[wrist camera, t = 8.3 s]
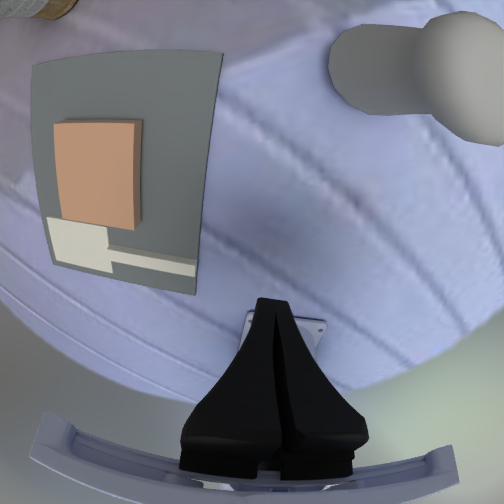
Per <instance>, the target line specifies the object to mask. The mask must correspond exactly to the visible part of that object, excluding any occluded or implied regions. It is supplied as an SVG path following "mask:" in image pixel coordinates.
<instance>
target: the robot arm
mask: <svg viewBox="0 0 504 504" xmlns="http://www.w3.org/2000/svg"><path fill="white" fill-rule="evenodd" d="M326 328H327V323H326V322H324V321H317V320H309V319H300V318H294V317H293V314H292V312H291V309H290V306H289V303H288V302H287V301H282V300H275V299H269V298H262V297H260V298H258V299H257V303H256V307H255V311H254V312H249V313H247V316H246V320H245V325H244V329H243V333H242V337H241V341H240V346H239V350H238V353H237V355H236V356H235V358H234V359H233V361H232V363H231V364H230V365H229V367H228V368H227V370H226V371H225V373H224V374H223V375H222V377H221V378H220V379H219V381H218V382H217V383H216V384H215V385H214V387H213V388H212V389H211V390H210V391H209V393H208V394H207V395H206V396H205V397H204V398H203V399H202V400H201V401H200V402H199V403H198V404H197V405H196V407H195V409H194V410H193V412H192V413H191V415H190V416H189V418H188V419H187V421H186V423H185V425H184V427H183V429H182V434H181V440H180V443H181V449H182V451H181V456H180V460H177V459H172V458H167V457H163V456H159V455H155V454H151V453H147V452H144V451H140V450H136V449H133V448H130V447H126V446H122V445H120V444H116V443H114V442H111V441H108V440H105V439H102V438H99V437H97V436H94V435H91V434H89V433H86V432H84V431H81V430H79V429H77V428H76V427H75V426H74V425H73V424H72V423H71V422H69V421H68V420H66V419H63V418H61V417H59V416H57V415H55V414H53V413H51V412H48V411H45V412H44V414H43V417H42V420H41V422H40V425H39V427H38V430H37V433H36V435H35V438H34V441H33V444H32V447H31V450H30V453H29V457H30V458H31V459H33V460H35V461H36V462H38V463H40V464H42V465H43V466H45V467H47V468H49V469H51V470H53V471H55V472H57V473H59V474H61V475H63V476H65V477H67V478H69V479H71V480H74V481H76V482H78V483H80V484H83V485H85V486H87V487H90V488H92V489H95V490H97V491H100V492H103V493H105V494H108V495H111V496H114V497H117V498H120V499H123V500H126V501H129V502H133V503H136V504H405V503H408V502H412V501H415V500H418V499H421V498H424V497H427V496H430V495H432V494H435V493H438V492H441V491H443V490H446V489H448V488H450V487H453V486H455V485H457V484H459V477H458V471H457V466H456V461H455V457H454V452H453V447H452V445H447V446H444V447H441V448H437V449H435V450H432V451H431V452H428V453H427V454H426V455H423V456H419V457H415V458H411V459H406V460H402V461H396V462H391V463H386V464H380V465H373V466H366V467H358V468H352V460H353V459H354V457H355V455H354V451H355V450H356V449H358V448H360V447H361V446H363V445H364V444H365V443H366V442H367V441H368V439H369V435H368V429H367V425H366V421H365V418H364V417H363V416H361V415H360V414H359V413H358V412H357V411H356V410H355V409H354V408H353V407H352V406H350V405H349V403H347V401H346V400H345V399H344V398H343V397H342V396H341V395H340V394H339V393H338V391H337V390H336V389H335V388H334V386H333V385H332V384H331V383H330V382H329V380H328V379H327V378H326V376H325V375H324V373H323V372H322V371H321V369H320V368H319V366H318V365H317V363H316V354H315V348H316V347H317V345H318V343H319V341H320V339H321V337H322V336H323V334H324V332H325V330H326ZM188 478H190V479H188ZM192 479H196V480H203V481H209V482H217V483H219V490H216V489H206V488H203V483H202V482H200V481H196V480H192ZM339 484H340V485H339Z"/></svg>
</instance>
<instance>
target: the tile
mask: <svg viewBox="0 0 504 504" xmlns="http://www.w3.org/2000/svg"><path fill="white" fill-rule="evenodd" d="M141 133H142V120H120V119H79V120H62V121H60V122H57V123H54V148H55V163H56V174H57V183H58V191H59V199H60V206H61V212H62V218H63V219H68V220H74V221H80V222H86V223H92V224H98V225H104V226H110V227H116V228H122V229H128V230H134V231H135V229H136V228H137V226H138V225H139V224H140V222H141V215H140V158H141Z"/></svg>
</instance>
